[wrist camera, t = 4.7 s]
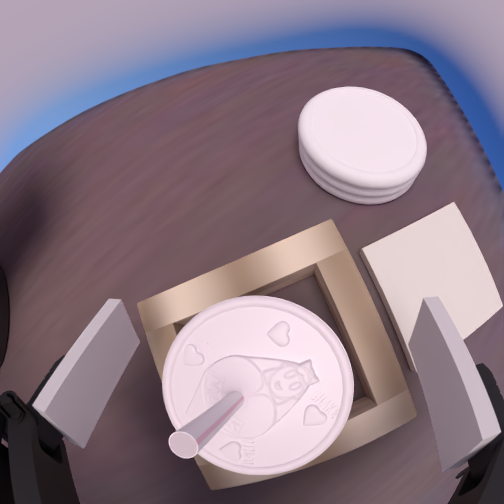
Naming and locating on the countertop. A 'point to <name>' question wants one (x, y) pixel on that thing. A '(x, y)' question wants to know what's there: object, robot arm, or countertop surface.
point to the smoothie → (256, 386)
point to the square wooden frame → (342, 309)
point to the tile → (432, 274)
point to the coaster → (360, 145)
